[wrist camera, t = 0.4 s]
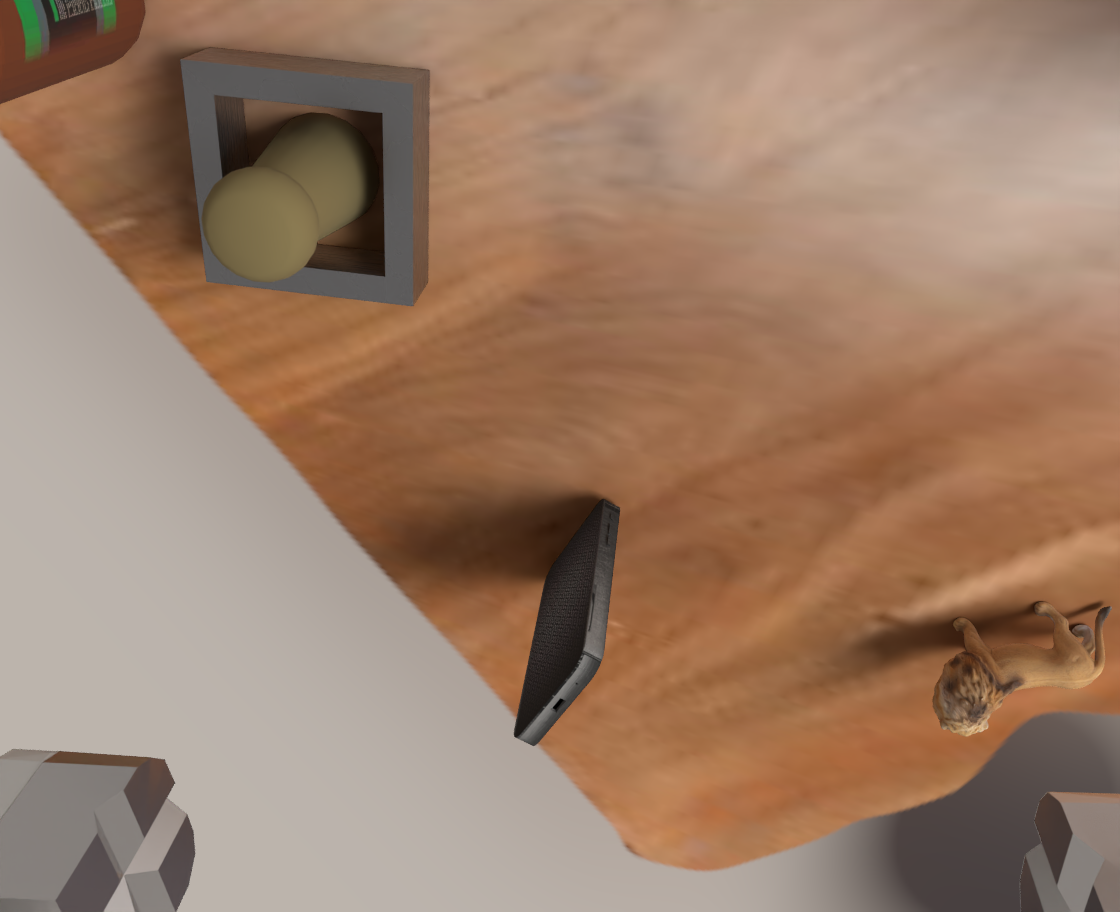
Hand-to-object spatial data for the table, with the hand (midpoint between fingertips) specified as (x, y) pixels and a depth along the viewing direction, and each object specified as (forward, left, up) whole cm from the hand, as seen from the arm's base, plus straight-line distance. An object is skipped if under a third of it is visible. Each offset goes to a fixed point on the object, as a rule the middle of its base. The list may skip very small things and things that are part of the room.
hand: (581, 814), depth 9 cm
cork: (+8, -17, -46) cm, 50 cm away
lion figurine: (+33, +27, -46) cm, 62 cm away
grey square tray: (+8, -17, -46) cm, 49 cm away
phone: (+30, -1, -46) cm, 55 cm away
